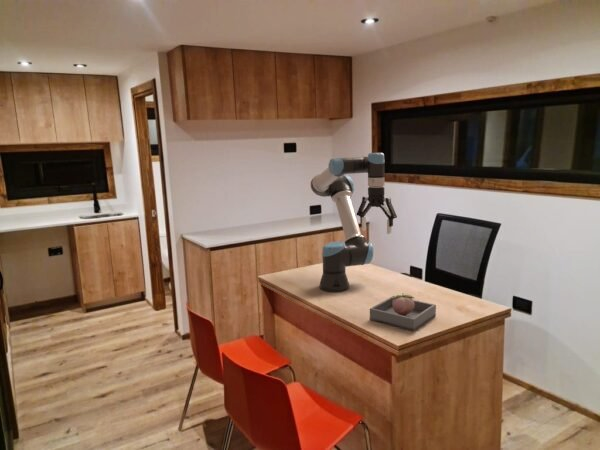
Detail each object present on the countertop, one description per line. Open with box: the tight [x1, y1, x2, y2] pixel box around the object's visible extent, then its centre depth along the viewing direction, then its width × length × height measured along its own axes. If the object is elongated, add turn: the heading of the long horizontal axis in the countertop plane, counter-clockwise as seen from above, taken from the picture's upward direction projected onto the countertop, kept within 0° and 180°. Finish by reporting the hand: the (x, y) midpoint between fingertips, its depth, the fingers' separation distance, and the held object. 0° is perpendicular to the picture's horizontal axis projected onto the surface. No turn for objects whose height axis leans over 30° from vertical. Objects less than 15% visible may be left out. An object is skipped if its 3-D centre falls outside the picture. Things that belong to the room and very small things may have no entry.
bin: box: [369, 295, 437, 333], centre depth 190 cm, size 20×20×5 cm
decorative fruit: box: [392, 294, 415, 316], centre depth 190 cm, size 9×8×10 cm
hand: (376, 232), depth 213 cm, fingers open, 13 cm apart
